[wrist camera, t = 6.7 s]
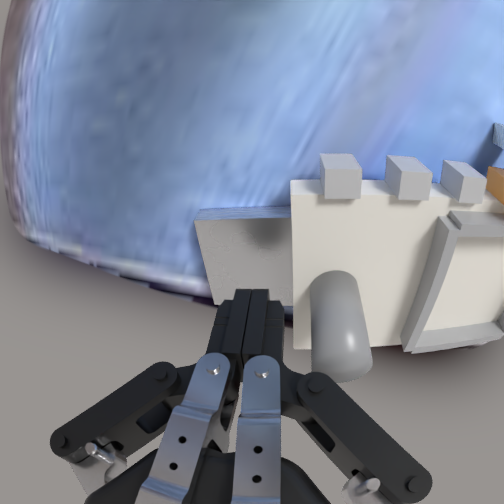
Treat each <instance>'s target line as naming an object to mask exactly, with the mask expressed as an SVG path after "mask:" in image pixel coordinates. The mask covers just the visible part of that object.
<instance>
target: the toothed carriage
mask: <svg viewBox="0 0 504 504" xmlns="http://www.w3.org/2000/svg"><path fill="white" fill-rule="evenodd" d="M432 176H433V173H432V172H431V171H430V170H429V169H428V168H427V167H425V166H424V165H423V164H422V163H421V162H420V161H419V160H417V159H416V158H415V157H407V156H393V155H387V156H386V170H385V180H362V168H361V167H360V165H359V164H358V162H357V161H356V159H355V158H354V156H353V155H352V154H320V179H313V180H291V218H292V250H293V349H311V351H312V352H311V355H312V356H311V358H312V372H321V373H324V374H326V375H328V376H329V377H330V378H331V379H332V380H333V381H334V382H335V383H341V382H347V381H352V380H355V379H358V378H360V377H362V376H363V375H365V374H366V373H367V372H368V371H369V370H370V369H371V367H372V365H373V361H372V355H371V349H370V347H374V346H388V345H399V344H402V346H403V350H404V352H406V351H411V354H413V353H421V352H429V351H436V350H443V349H450V348H456V347H462V346H467V345H473V344H478V343H483V342H488V341H492V340H496V339H500V338H501V337H502V336H504V169H502V168H497V167H491V166H488V172H487V177H486V178H485V177H484V176H483V175H482V174H480V173H479V172H478V171H476V170H475V169H474V168H472V167H471V166H470V165H468V164H467V163H465V162H457V161H449V160H443V167H442V174H441V180H440V183H432Z"/></svg>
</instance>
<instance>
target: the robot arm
mask: <svg viewBox="0 0 504 504" xmlns="http://www.w3.org/2000/svg"><path fill="white" fill-rule="evenodd" d="M283 346H284V308H283V306H282V304H281V302H280V300H270V294H269V289H253V290H252V289H236V290H235V294H234V298H233V300H226V299H225V300H224V301H223V302H222V303H221V305H220V306H219V307H218V310H217V313H216V318H215V321H214V326H213V328H212V332H211V336H210V340H209V344H208V347H207V351H206V354H205V355H204V356H203V357H201V358H200V359H199V360H198V362H197V363H196V364H193V365H190V366H185V367H180V368H175V367H174V366H173V365H172V364H171V363H168V362H158V363H155V364H153V365H152V366H150V367H149V368H147V369H146V370H145V371H143V372H142V373H140V374H139V375H137V376H136V377H135V378H133V379H132V380H130V381H129V382H127V383H126V384H124V385H123V386H122V387H120V388H119V389H117V390H116V391H114V392H113V393H111V394H110V395H108V396H107V397H105V398H104V399H103V400H101V401H99V402H98V403H96V404H95V405H94V406H92V407H90V408H89V409H88V410H86V411H84V412H83V413H81V414H80V415H79V416H77V417H75V418H74V419H72V420H71V421H69V422H68V423H66V424H64V425H63V426H62V427H60V428H58V429H57V430H55V431H54V432H53V434H52V436H51V438H50V446H51V449H52V451H53V452H54V453H55V454H56V455H58V456H59V457H61V458H63V459H65V460H66V461H67V462H69V464H70V465H71V467H72V469H73V471H74V472H75V474H76V476H77V478H78V480H79V482H80V483H81V485H82V487H83V489H84V490H85V492H86V494H87V495H88V498H87V499H86V500H85V503H84V504H331V503H330V502H329V501H328V500H327V498H326V497H325V496H324V495H323V494H322V492H321V491H320V490H319V489H318V488H317V486H316V485H315V484H314V483H313V482H312V480H311V479H310V478H309V477H308V475H307V474H306V473H305V472H304V471H303V470H302V469H301V468H300V467H299V466H298V465H296V464H295V463H293V462H291V461H290V460H288V459H285V458H283V457H281V415H283V416H286V417H289V418H292V419H295V420H296V421H297V422H298V424H299V425H300V426H301V427H302V428H303V429H304V431H305V432H306V433H307V434H308V435H309V436H310V437H311V439H312V440H313V441H314V442H315V443H316V444H317V445H318V446H319V447H320V449H321V450H322V451H323V452H324V453H325V454H326V455H327V456H328V458H329V459H330V460H331V461H332V462H333V463H334V464H335V465H336V466H337V467H338V468H339V469H340V470H341V471H342V473H343V474H344V475H345V476H346V477H347V478H348V479H349V480H348V481H347V482H346V483H345V484H344V486H343V489H342V497H343V499H344V501H345V502H346V504H412V503H416V502H419V501H421V500H422V499H424V498H425V497H426V496H427V495H428V493H429V492H430V490H431V487H432V477H431V475H430V473H429V472H428V471H427V470H426V469H425V468H424V467H423V466H422V465H421V464H419V463H418V462H417V461H416V460H415V459H414V458H413V457H412V456H411V455H410V454H408V453H407V452H406V451H405V450H404V449H403V448H402V447H401V446H400V445H399V444H398V443H397V442H396V441H395V440H394V439H393V438H392V437H391V436H390V435H388V434H387V433H386V432H385V431H384V430H383V429H382V428H381V427H380V426H379V425H378V424H377V423H376V422H375V421H374V420H373V419H372V418H371V417H369V415H368V414H367V413H366V412H365V411H364V410H363V409H362V408H360V407H359V405H357V404H356V403H355V402H354V401H353V400H352V399H351V398H350V397H349V396H348V395H347V394H346V393H345V392H344V391H343V390H342V389H341V388H340V387H339V386H338V385H337V384H336V383H335V382H334V381H333V380H332V379H331V378H330V377H329V376H328V375H326V374H324V373H321V372H311V373H308V374H306V375H303V374H300V373H296V372H293V371H291V370H290V369H288V368H287V367H286V366H285V365H284V363H283ZM240 382H243V388H242V403H241V414H240V415H239V418H238V424H237V438H236V439H237V440H236V452H232V453H227V452H228V448H229V434H230V430H231V426H232V422H233V418H234V414H235V410H236V406H237V402H238V398H239V386H240ZM164 431H165V432H164ZM163 432H164V435H163V438H162V440H161V443H160V446H159V448H158V449H155V450H153V451H152V452H150V453H149V454H148V455H146V456H145V457H144V458H142V459H141V460H139V461H138V462H137V463H135V464H134V465H133V466H131V467H130V468H128V469H127V470H125V469H126V468H127V459H126V458H127V457H128V456H130V455H131V454H133V453H134V452H136V451H137V450H138V449H140V448H141V447H143V446H144V445H146V444H147V443H149V442H150V441H152V440H153V439H154V438H156V437H157V436H158V435H160V434H161V433H163ZM124 470H125V471H124ZM123 471H124V472H123ZM122 472H123V473H122Z"/></svg>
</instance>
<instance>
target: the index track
mask: <svg viewBox="0 0 504 504" xmlns="http://www.w3.org/2000/svg"><path fill="white" fill-rule="evenodd" d="M492 143H494V144H496V145H497V146H499V147H501V148H502V149H504V125H503V124H499V123H494V133H493V141H492ZM194 224H195V228H196V232H197V237H198V241H199V245H200V249H201V253H202V257H203V261H204V265H205V269H206V273H207V277H208V281H209V285H210V289H211V293H212V297H213V300H214V304H215V305H221V303H222V302H223V301H224V300H225V299H226V300H233V298H234V294H235V290H236V289H252V290H253V289H269V294H270V300H280V302H281V304H282V306H293V250H292V218H291V206H274V207H245V208H222V209H203V210H200V211H199V212H198V214H197V216H196V218H195V220H194Z"/></svg>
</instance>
